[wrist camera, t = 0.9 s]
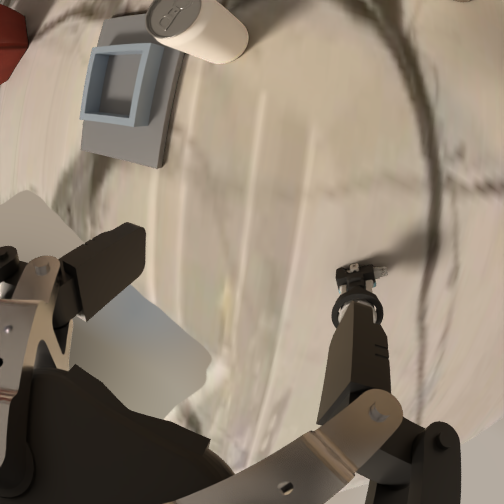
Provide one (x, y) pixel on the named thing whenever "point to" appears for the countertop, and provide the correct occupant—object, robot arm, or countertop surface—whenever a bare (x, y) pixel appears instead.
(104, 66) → the housing
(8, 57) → the plant pot
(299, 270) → the countertop surface
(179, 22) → the can
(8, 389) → the robot arm
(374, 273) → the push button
